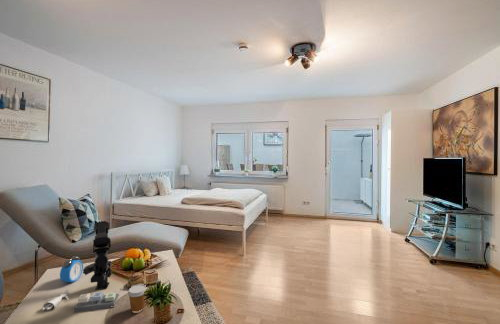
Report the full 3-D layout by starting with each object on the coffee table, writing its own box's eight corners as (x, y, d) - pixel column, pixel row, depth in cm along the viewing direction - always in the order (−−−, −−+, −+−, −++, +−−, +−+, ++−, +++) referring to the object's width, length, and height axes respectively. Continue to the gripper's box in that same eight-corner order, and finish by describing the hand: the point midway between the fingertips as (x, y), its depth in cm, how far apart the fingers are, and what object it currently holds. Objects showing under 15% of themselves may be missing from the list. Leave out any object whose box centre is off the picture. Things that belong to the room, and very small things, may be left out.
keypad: (81, 300, 140) (81, 296, 140) (118, 295, 145) (118, 291, 145) (73, 312, 130) (73, 308, 130) (113, 307, 135) (113, 302, 135)
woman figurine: (33, 305, 128) (58, 288, 146) (33, 313, 128) (58, 295, 146) (56, 304, 129) (78, 287, 147) (56, 313, 129) (78, 295, 147)
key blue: (94, 296, 139) (94, 292, 139) (103, 295, 140) (103, 291, 140) (91, 301, 135) (91, 297, 135) (100, 300, 136) (100, 296, 136)
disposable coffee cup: (150, 310, 133) (150, 288, 132) (131, 318, 126) (131, 295, 126) (143, 302, 140) (143, 281, 139) (125, 309, 133) (125, 288, 133)
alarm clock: (68, 286, 154) (68, 263, 153) (59, 286, 154) (58, 262, 153) (83, 275, 167) (83, 254, 166) (74, 275, 167) (74, 253, 166)
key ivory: (81, 298, 137) (81, 294, 137) (90, 297, 138) (90, 293, 138) (78, 303, 133) (77, 298, 133) (87, 301, 134) (87, 297, 134)
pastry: (125, 283, 159) (125, 271, 158) (149, 276, 168) (149, 265, 168) (129, 293, 148) (129, 280, 148) (155, 285, 158) (155, 273, 157)
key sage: (107, 297, 141) (107, 293, 141) (115, 296, 142) (115, 292, 142) (104, 301, 137) (104, 297, 136) (113, 300, 138) (113, 296, 138)
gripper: (90, 253, 143) (90, 279, 144) (78, 268, 126) (79, 298, 126) (111, 251, 147) (112, 276, 148) (103, 265, 129) (103, 294, 130)
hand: (101, 285), depth 138 cm, fingers closed
